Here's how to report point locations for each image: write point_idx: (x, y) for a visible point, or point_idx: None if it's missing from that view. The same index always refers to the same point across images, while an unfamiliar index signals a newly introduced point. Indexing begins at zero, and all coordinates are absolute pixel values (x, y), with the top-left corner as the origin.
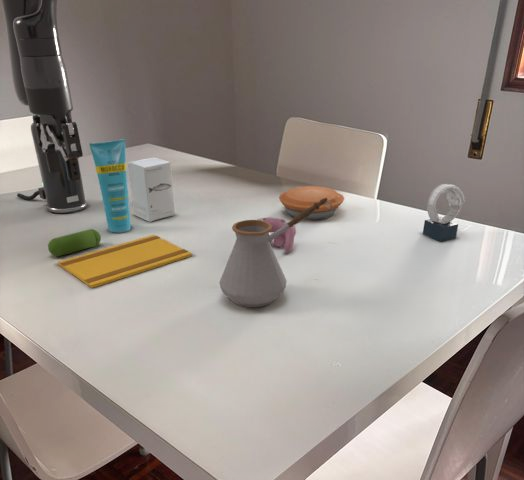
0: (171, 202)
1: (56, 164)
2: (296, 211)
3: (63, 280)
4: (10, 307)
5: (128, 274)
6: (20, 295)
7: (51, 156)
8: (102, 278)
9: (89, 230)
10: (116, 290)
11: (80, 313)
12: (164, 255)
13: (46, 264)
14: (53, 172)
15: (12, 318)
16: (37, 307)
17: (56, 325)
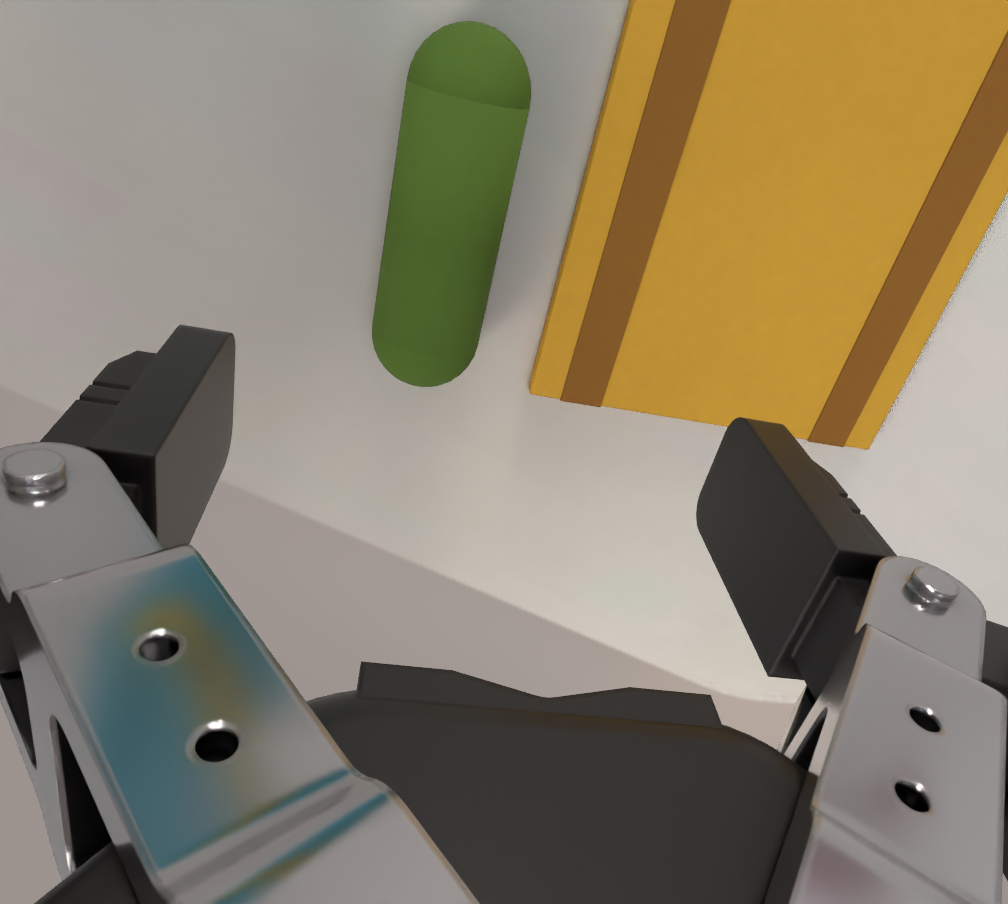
0: None
1: (206, 408)
2: None
3: (691, 466)
4: (690, 666)
5: (959, 272)
6: (645, 615)
7: (175, 524)
8: (874, 385)
9: (479, 117)
10: (973, 396)
11: (945, 570)
12: None
13: (474, 416)
14: (230, 418)
15: (756, 690)
16: None
17: None
